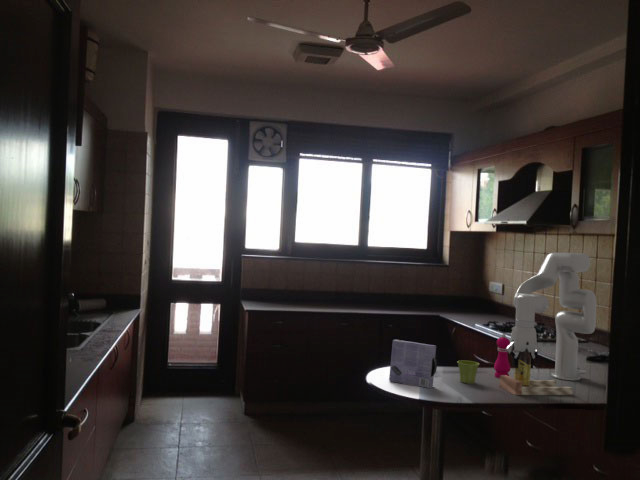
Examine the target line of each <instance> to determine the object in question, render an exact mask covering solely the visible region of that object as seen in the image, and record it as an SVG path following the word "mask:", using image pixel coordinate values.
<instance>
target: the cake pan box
mask: <svg viewBox="0 0 640 480" xmlns="http://www.w3.org/2000/svg"><path fill="white" fill-rule="evenodd" d="M391 346H392V347H391V356H390V368H389V378H388V380H389V382H392V383H398V384H404V385H407V386H415V387H421V388H426V389H431V388H433V387H432V386H434V378H435V375H436V372H437V369H438V368H437V367H438V362H437V359H436V352H437V345H434V344H426V343H421V342H420V343H419V342H416V341H415V342H414V341H406V340H400V339H393V340H392V344H391Z"/></svg>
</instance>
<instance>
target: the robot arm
mask: <svg viewBox="0 0 640 480" xmlns="http://www.w3.org/2000/svg"><path fill="white" fill-rule="evenodd" d="M590 265H591V259H590V257H589V255H587V254H586V253H583V252H582V253H581V252H579V253H578V252H558V251H557V252H556V251H555V252H550V253H548V254H547V255H546V256H545V257H544V260H543V262H542V263H541V266H540V267H539V269H538V271H537V273H536V275H533V276H531V277H530V278H528V279H527V280H525V281H524V282H522V283H520V285H519V286H518V289H517V290H516V292H515V294H514V296H513V297H514V298H513V306H514V307H515V323H514V326H513V327H512V329H511V334H510V339H509V341H510V345H509V346H508V347H507V348H506V350H507V351H508V354H509V355H510V356H511V358H512V360H511V365H512V368H514V369H515V368H518V358H517V357H518V354H519V352H524V351H525V350H526V348H527V349H528V351H529V353H530V356H531V369H533V368H534V361H535V360H534V359H535V358H536V357H537V356H538V354H539V353H540V352H541V351H542V349H541V347H540V346H539V345H538V344H537V343H538V342H537V341H538V340H537V331H536V328H535V326H537V325H538V324H537V322H536V321H535V317H536V313H544V312H546V311H547V310H548V309H549V306H550V301H549V299H548V297H547V296H545V295H543V294H534V292H537V291H541V290H545V289H548V288H551V287H554V286H555V284H557V281H558V279H559V284H558V285H559V287H558V289H559V291H558V292H559V293H558V295H559V296H558V301H559V305H560V306H561V307H562V308H565V309H572V310H573V311H572V310H571V311H570V310H561V311H558V312H557V313H556V314H555V319H554V322H555V331H556V339H555V340H556V341H555V342H556V344H555V365H554V372H551V373H550V375H551V377H552V378H554V379H557V380H558V379H559V380H564V381H573V382H574V381H580V380H581V377H580V375H587V371H586V370H585V369H584V370H583V369H582V370H580V369H578V355H579V354H578V353H579V339H578V337H577V336H576V334H575V333H577V334H586V335H589V334H590V335H591V334H593V333H594V332H595V330H596V326H597V325H596V324H597V297H596V294H595V293H594V291H592V290H590V289H582V288H580V277H579V275H578V273H585V272H587V271H588V270H589V269H590ZM574 310H581V311H582V312H579V311H574ZM527 342H529V345H526V343H527Z"/></svg>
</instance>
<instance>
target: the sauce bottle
mask: <svg viewBox="0 0 640 480" xmlns="http://www.w3.org/2000/svg"><path fill="white" fill-rule="evenodd" d="M526 345H529V342H527V343H526ZM517 358H518V368H515V367H514V375H513V379H516V380H518V381H520V382H522V387H529V384H530V380H531V369H532V368H531V356H530V353H529V351H528V349H527V348H526V350H525V351H524V352H519V354H518V357H517Z"/></svg>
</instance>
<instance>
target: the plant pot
mask: <svg viewBox="0 0 640 480" xmlns="http://www.w3.org/2000/svg"><path fill="white" fill-rule="evenodd" d="M456 363H457V365H458V368H459V371H458V372H459V381H460V382H461V383H463V384H464V383H466V384H468V385H469V384H471V385H473V384H475V383H476V378H477V371H478V368H479V365H480V363H479V362H476V361H472V360H458V361H456Z"/></svg>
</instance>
